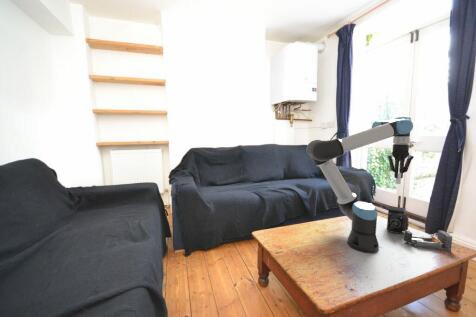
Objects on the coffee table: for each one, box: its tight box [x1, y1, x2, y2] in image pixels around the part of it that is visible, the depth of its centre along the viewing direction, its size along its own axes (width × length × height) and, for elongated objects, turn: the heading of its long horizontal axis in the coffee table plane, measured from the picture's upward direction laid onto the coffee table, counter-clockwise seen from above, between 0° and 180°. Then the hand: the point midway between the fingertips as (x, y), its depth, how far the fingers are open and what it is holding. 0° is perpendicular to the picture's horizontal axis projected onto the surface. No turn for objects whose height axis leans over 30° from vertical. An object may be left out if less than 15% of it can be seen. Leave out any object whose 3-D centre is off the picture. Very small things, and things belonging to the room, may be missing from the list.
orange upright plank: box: [430, 234, 441, 243], centre depth 116 cm, size 2×7×4 cm, turn 164°
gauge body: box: [410, 229, 453, 252], centre depth 116 cm, size 16×7×8 cm, turn 75°
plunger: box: [403, 229, 424, 244], centre depth 118 cm, size 8×4×6 cm, turn 75°
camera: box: [386, 205, 410, 235], centre depth 133 cm, size 10×10×15 cm
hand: (397, 183), depth 126 cm, fingers closed
